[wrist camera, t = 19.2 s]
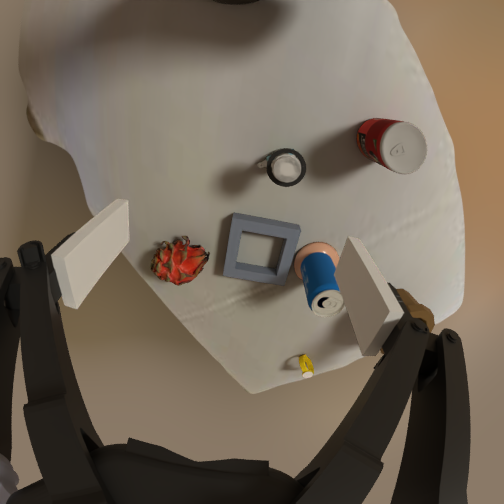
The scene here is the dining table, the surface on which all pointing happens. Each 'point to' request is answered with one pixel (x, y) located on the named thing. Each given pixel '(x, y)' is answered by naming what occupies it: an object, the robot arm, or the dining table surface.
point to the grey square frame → (268, 228)
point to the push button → (285, 167)
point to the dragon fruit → (179, 262)
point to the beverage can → (321, 285)
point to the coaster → (312, 249)
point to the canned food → (393, 144)
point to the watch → (306, 372)
